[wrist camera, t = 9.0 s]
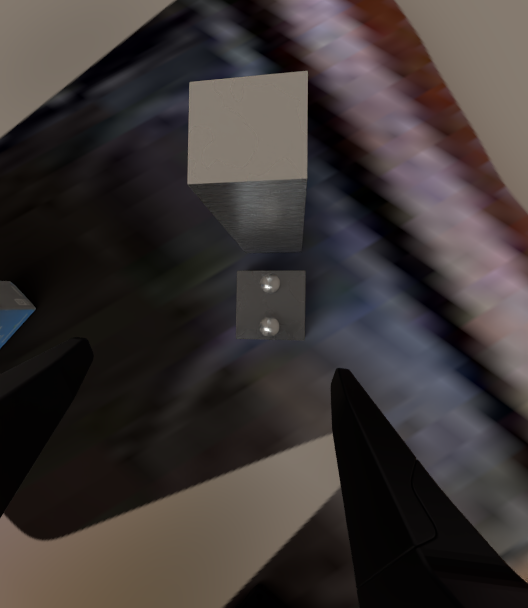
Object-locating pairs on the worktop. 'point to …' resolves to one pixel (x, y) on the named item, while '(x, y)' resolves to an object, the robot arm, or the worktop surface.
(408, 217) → the worktop surface
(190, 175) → the pale grey rectangular block
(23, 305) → the label tape box
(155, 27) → the worktop surface
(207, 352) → the worktop surface
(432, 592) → the robot arm
